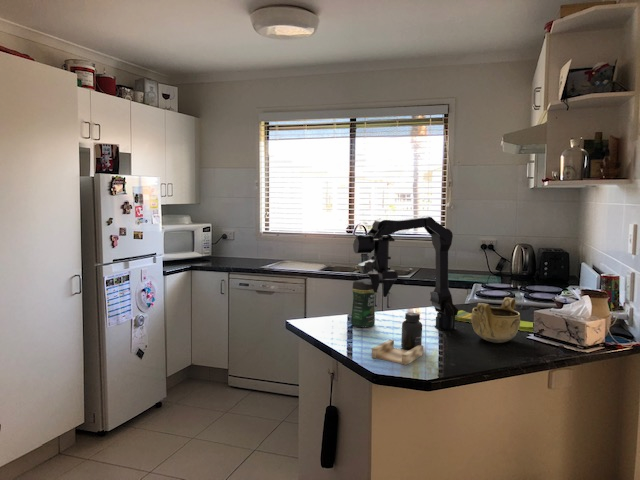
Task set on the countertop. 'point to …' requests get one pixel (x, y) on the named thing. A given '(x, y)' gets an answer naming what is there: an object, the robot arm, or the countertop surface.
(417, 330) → the supplement bottle
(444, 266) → the robot arm
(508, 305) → the ceramic bowl
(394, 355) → the cradle
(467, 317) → the dish towel
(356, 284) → the coffee jar
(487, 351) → the countertop surface
